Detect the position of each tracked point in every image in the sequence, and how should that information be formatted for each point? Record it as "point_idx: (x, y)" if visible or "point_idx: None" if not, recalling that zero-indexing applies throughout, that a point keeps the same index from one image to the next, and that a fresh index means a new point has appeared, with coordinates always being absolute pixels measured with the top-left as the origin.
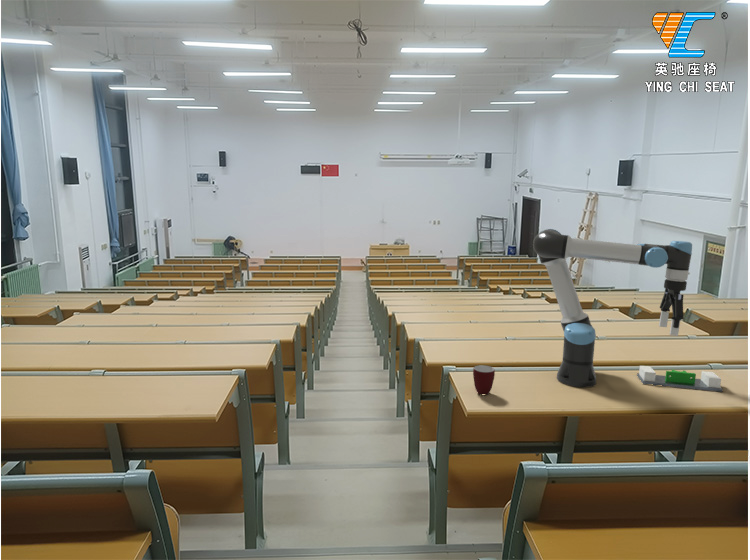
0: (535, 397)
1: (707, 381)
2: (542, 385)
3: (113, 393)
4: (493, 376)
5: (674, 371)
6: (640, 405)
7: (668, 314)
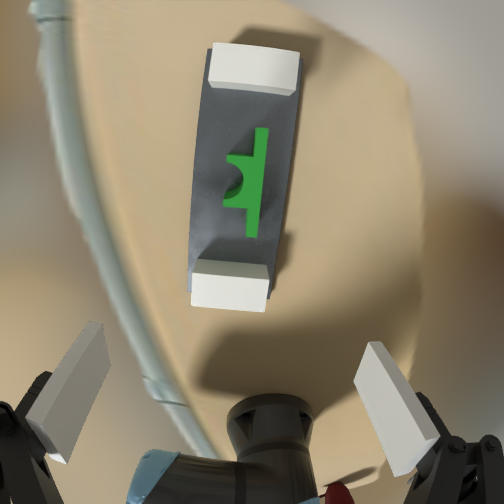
0: (353, 454)
1: (277, 91)
2: None
3: None
4: (349, 500)
5: (249, 206)
6: (407, 336)
7: (53, 407)
